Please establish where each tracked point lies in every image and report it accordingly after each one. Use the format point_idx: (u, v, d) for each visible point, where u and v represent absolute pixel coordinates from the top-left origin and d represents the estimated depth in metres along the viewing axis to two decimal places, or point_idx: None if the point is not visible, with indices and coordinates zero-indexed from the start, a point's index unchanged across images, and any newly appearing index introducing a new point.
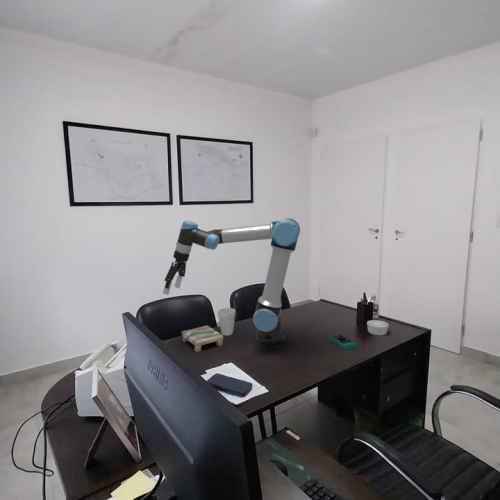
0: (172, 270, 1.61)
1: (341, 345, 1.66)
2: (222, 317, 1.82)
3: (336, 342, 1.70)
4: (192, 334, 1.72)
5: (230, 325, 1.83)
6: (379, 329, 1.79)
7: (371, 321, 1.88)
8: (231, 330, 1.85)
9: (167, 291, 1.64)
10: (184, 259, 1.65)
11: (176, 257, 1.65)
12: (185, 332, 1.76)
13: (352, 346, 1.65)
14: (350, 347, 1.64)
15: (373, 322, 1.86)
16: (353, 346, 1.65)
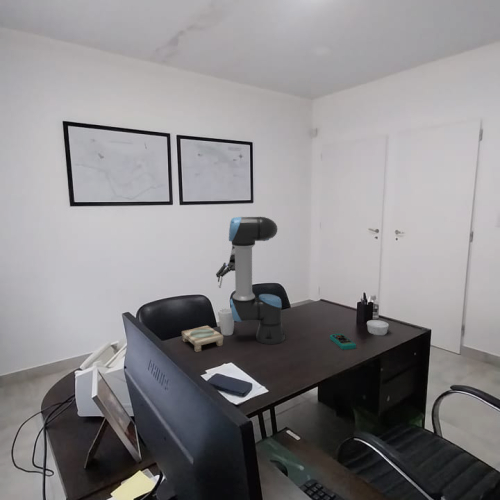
0: None
1: (340, 345, 1.66)
2: (222, 317, 1.82)
3: (336, 342, 1.70)
4: (192, 334, 1.72)
5: (230, 325, 1.83)
6: (379, 329, 1.79)
7: (371, 321, 1.88)
8: (231, 330, 1.85)
9: None
10: (230, 258, 2.03)
11: None
12: (185, 332, 1.76)
13: (350, 347, 1.64)
14: (348, 347, 1.64)
15: (373, 322, 1.86)
16: (352, 346, 1.64)
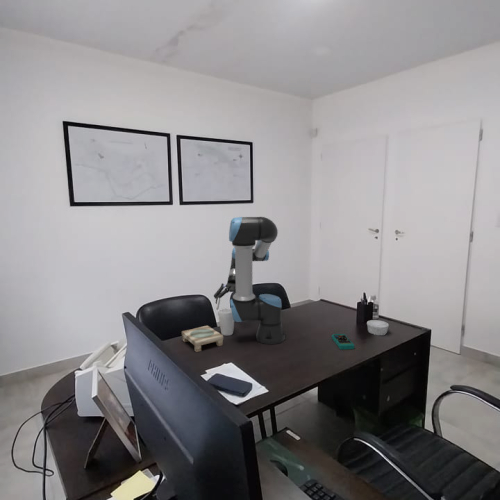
0: None
1: (338, 344, 1.67)
2: (222, 317, 1.82)
3: (335, 341, 1.71)
4: (192, 334, 1.72)
5: (230, 325, 1.83)
6: (379, 329, 1.79)
7: (371, 321, 1.88)
8: (231, 330, 1.85)
9: None
10: (229, 279, 2.00)
11: None
12: (185, 332, 1.76)
13: (348, 347, 1.64)
14: (346, 347, 1.64)
15: (373, 322, 1.86)
16: (350, 347, 1.64)
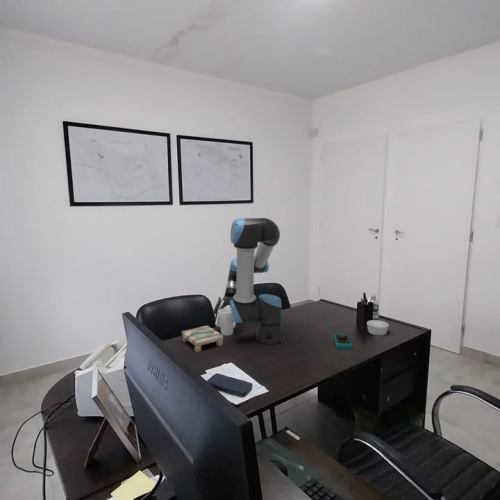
0: None
1: (336, 344, 1.67)
2: (222, 317, 1.82)
3: (335, 341, 1.71)
4: (192, 334, 1.72)
5: (230, 325, 1.83)
6: (379, 329, 1.79)
7: (371, 321, 1.88)
8: (231, 330, 1.85)
9: None
10: (226, 291, 1.93)
11: None
12: (185, 332, 1.76)
13: (346, 347, 1.64)
14: (343, 348, 1.64)
15: (373, 322, 1.86)
16: (347, 347, 1.64)
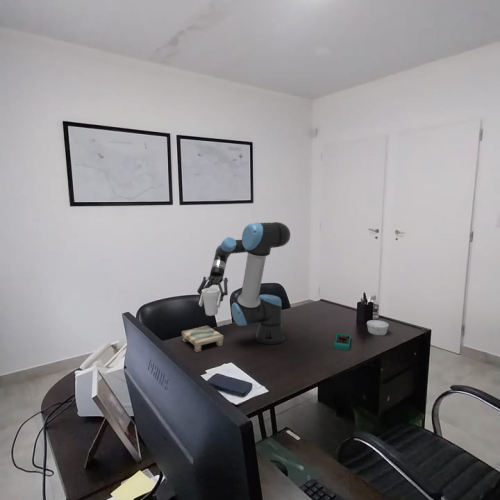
0: None
1: None
2: (205, 296, 1.75)
3: None
4: (192, 334, 1.72)
5: (214, 305, 1.77)
6: (379, 329, 1.79)
7: (371, 321, 1.88)
8: (215, 310, 1.78)
9: None
10: (211, 271, 1.86)
11: None
12: (185, 332, 1.76)
13: (343, 347, 1.64)
14: (340, 347, 1.64)
15: (373, 322, 1.86)
16: (344, 347, 1.63)
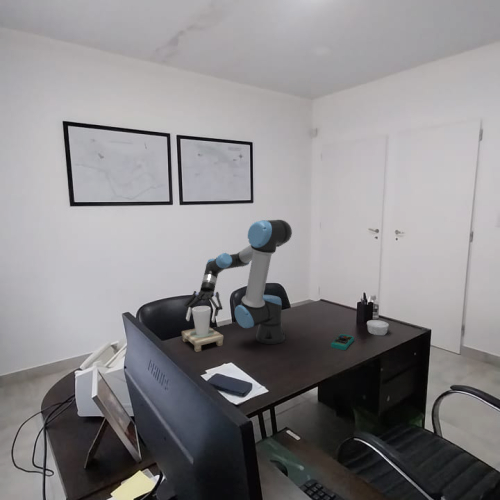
0: None
1: None
2: (196, 315, 1.69)
3: None
4: (192, 334, 1.72)
5: (205, 324, 1.70)
6: (379, 329, 1.79)
7: (371, 321, 1.88)
8: (206, 329, 1.71)
9: None
10: (201, 286, 1.80)
11: None
12: (185, 332, 1.76)
13: (339, 347, 1.64)
14: (336, 347, 1.65)
15: (373, 322, 1.86)
16: (340, 347, 1.64)
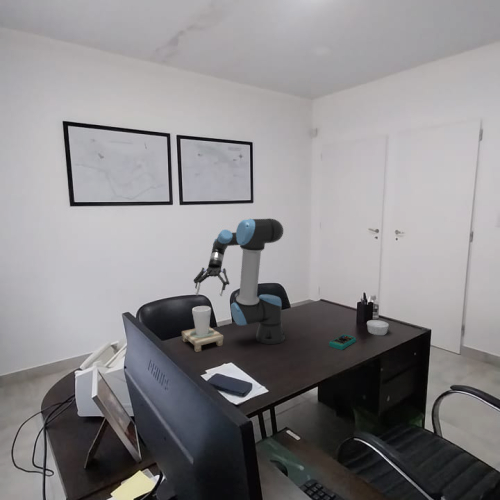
0: None
1: None
2: (196, 316, 1.69)
3: None
4: (192, 334, 1.72)
5: (205, 324, 1.70)
6: (379, 329, 1.79)
7: (371, 321, 1.88)
8: (206, 330, 1.71)
9: None
10: (209, 263, 1.91)
11: None
12: (185, 332, 1.76)
13: (336, 346, 1.65)
14: (334, 346, 1.66)
15: (373, 322, 1.86)
16: (337, 347, 1.64)
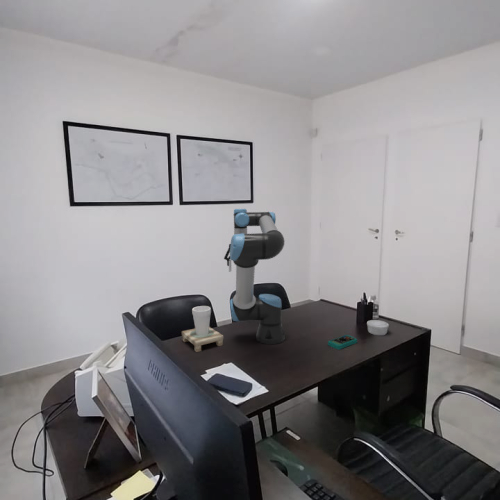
0: None
1: None
2: (196, 316, 1.69)
3: None
4: (192, 334, 1.72)
5: (205, 324, 1.70)
6: (379, 329, 1.79)
7: (371, 321, 1.88)
8: (206, 330, 1.71)
9: None
10: None
11: None
12: (185, 332, 1.76)
13: (334, 346, 1.66)
14: (332, 345, 1.67)
15: (373, 322, 1.86)
16: (335, 346, 1.65)
